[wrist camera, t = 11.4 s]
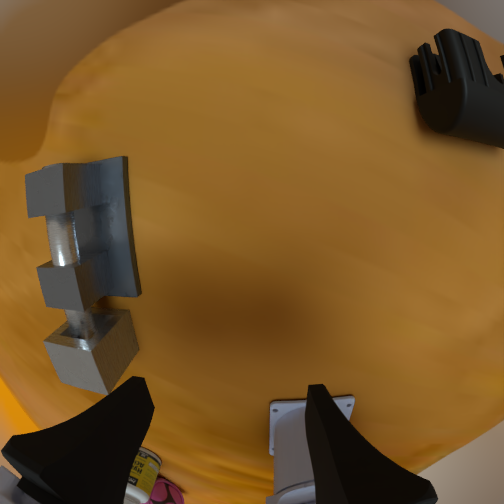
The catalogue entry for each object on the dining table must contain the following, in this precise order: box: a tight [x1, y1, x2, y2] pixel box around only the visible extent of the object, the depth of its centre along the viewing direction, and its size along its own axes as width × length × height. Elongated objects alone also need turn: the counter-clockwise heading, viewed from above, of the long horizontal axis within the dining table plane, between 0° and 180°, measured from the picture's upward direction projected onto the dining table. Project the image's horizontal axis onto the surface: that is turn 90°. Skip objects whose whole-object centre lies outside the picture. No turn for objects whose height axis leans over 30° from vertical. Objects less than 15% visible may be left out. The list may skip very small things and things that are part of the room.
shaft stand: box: [25, 156, 141, 341], centre depth 17 cm, size 16×8×5 cm, turn 2°
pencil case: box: [139, 477, 184, 504], centre depth 26 cm, size 21×10×10 cm, turn 115°
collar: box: [43, 307, 140, 395], centre depth 19 cm, size 4×5×6 cm
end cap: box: [409, 29, 504, 149], centre depth 12 cm, size 10×7×7 cm
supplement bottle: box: [123, 447, 161, 504], centre depth 23 cm, size 5×5×10 cm
